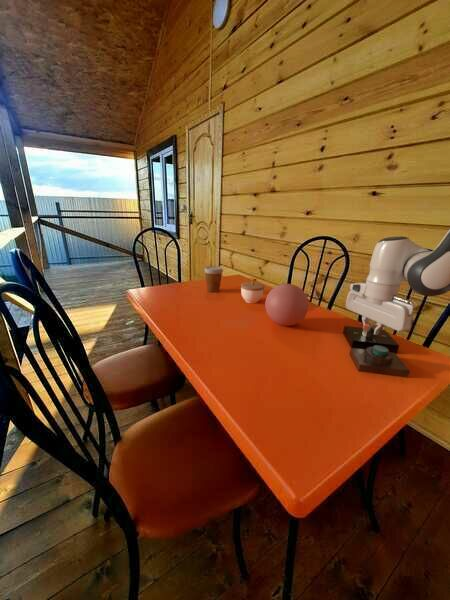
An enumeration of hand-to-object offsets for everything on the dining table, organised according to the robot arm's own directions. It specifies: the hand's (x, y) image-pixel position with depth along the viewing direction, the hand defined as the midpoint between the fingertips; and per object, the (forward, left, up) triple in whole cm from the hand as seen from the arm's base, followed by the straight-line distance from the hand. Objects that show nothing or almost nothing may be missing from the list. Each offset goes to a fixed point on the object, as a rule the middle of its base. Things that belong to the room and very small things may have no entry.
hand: (370, 331), depth 82 cm
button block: (+2, +13, -4) cm, 14 cm away
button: (+2, +14, -1) cm, 14 cm away
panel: (0, 0, -4) cm, 4 cm away
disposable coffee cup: (+62, -42, -4) cm, 75 cm away
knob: (0, 0, -1) cm, 1 cm away
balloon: (+25, -10, -4) cm, 27 cm away
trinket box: (+41, -31, -4) cm, 52 cm away
